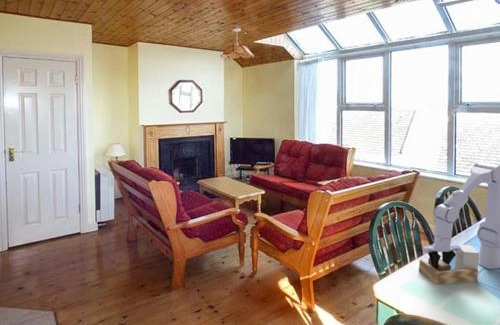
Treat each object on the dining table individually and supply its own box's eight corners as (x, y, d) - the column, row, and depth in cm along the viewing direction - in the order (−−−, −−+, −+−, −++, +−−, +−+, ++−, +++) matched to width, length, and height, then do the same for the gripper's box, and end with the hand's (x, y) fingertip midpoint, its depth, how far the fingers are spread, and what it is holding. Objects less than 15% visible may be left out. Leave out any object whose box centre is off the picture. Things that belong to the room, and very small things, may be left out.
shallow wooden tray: (456, 267, 151) (457, 257, 151) (476, 281, 140) (478, 270, 140) (418, 270, 148) (419, 259, 148) (436, 284, 138) (437, 272, 137)
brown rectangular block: (435, 269, 150) (437, 257, 149) (449, 278, 142) (451, 265, 141) (427, 269, 149) (428, 257, 148) (440, 279, 141) (442, 266, 140)
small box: (476, 279, 142) (480, 253, 140) (460, 277, 143) (463, 251, 141) (468, 269, 150) (472, 245, 148) (453, 268, 151) (456, 243, 149)
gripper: (452, 231, 148) (449, 263, 150) (419, 232, 145) (416, 265, 147) (465, 237, 141) (461, 271, 143) (431, 239, 138) (427, 273, 141)
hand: (439, 268), depth 145 cm, fingers closed on brown rectangular block, 4 cm apart
